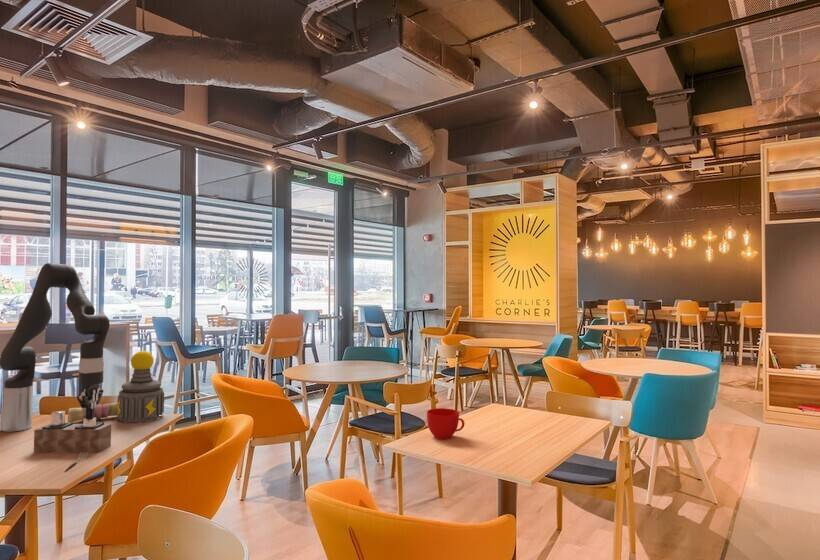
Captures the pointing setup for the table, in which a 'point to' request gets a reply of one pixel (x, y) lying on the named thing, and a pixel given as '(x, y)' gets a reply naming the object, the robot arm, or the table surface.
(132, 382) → the decorative lamp
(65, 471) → the fork
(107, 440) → the walnut bar
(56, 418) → the peg
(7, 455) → the table surface
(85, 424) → the peg
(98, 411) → the scroll
